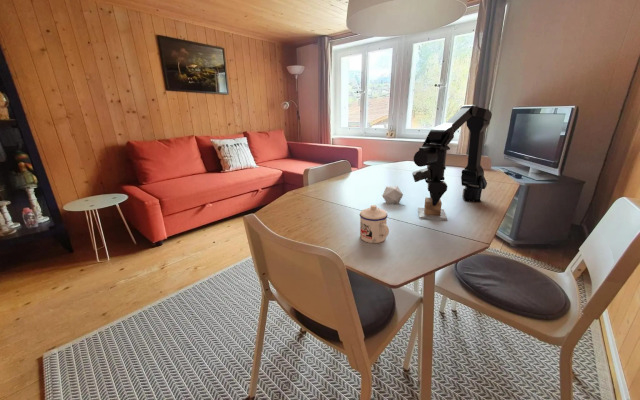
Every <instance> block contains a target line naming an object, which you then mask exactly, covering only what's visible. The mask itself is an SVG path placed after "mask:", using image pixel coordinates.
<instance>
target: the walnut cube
mask: <svg viewBox="0 0 640 400" xmlns="http://www.w3.org/2000/svg"><path fill="white" fill-rule="evenodd" d="M423 208H424V211H425V215H436V216H440V213H441V209H442V200H441V198H440V200H439V201H438V203H437V204H436V206H433V204H432V198H430V197H428V196H427V197H425V199H424V207H423Z"/></svg>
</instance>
